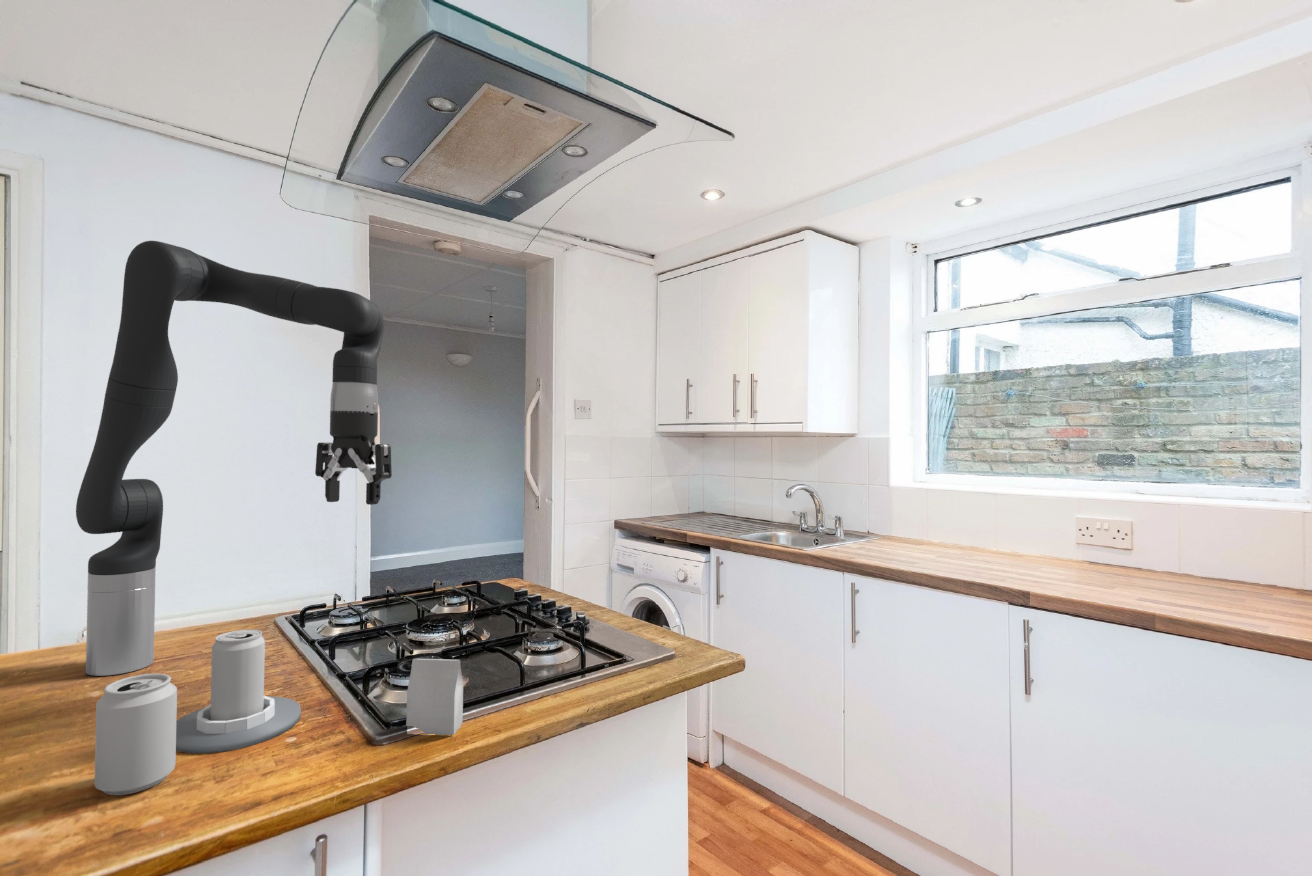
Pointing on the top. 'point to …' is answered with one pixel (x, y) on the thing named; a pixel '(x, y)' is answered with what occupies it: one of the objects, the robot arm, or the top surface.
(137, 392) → the robot arm
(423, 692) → the grey printed carton
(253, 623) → the top surface
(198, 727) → the dock
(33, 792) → the top surface
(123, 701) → the can
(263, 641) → the beverage can
